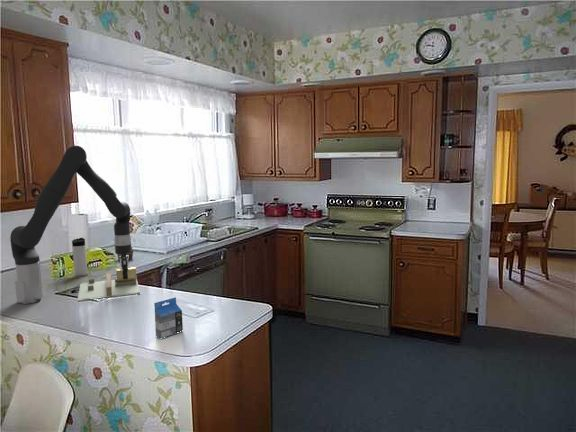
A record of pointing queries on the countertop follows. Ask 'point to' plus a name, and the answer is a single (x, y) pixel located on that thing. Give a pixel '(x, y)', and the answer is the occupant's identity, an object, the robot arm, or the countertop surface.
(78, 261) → the travel mug
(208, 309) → the countertop surface
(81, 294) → the door board
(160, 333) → the label tape cartridge
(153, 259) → the countertop surface
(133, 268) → the bar
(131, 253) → the cupcake
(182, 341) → the countertop surface
